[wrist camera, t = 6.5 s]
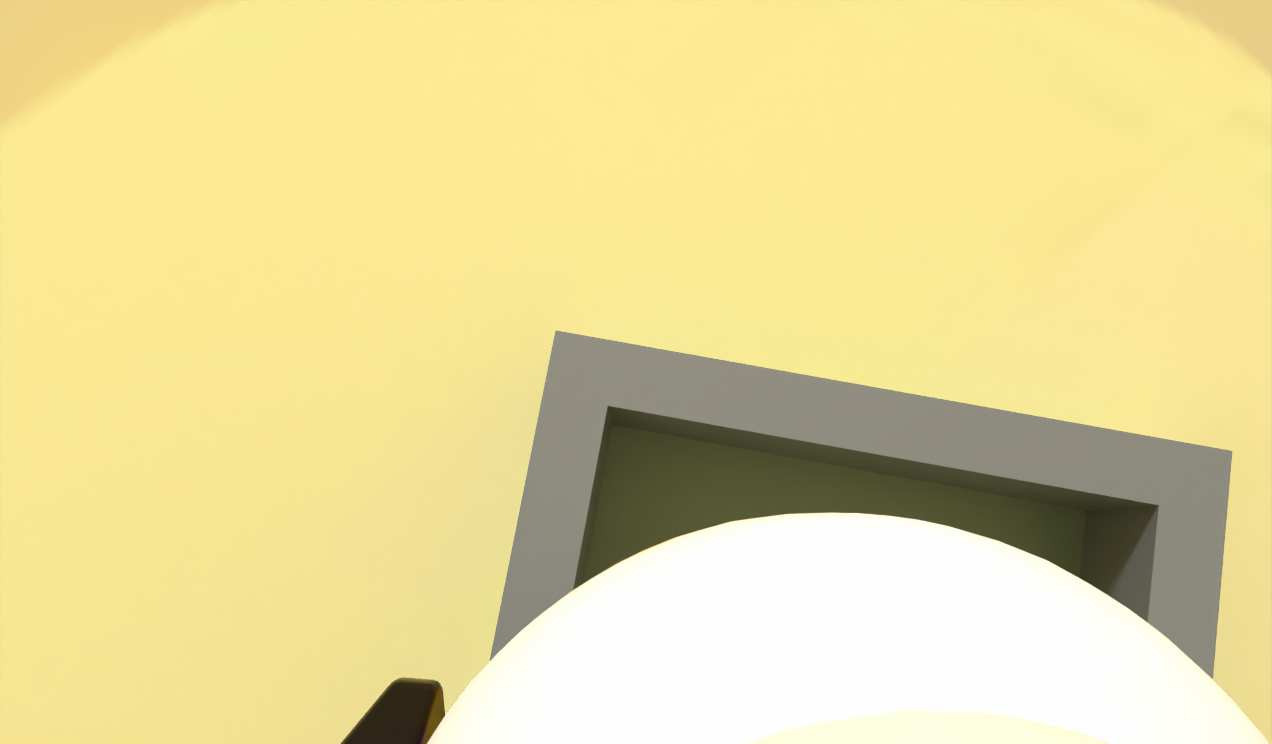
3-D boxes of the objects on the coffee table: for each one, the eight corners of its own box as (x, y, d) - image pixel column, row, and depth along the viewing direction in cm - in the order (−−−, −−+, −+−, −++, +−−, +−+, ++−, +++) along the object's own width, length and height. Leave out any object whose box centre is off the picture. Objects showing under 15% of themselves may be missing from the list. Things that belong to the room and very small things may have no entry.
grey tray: (1080, 1027, 20) (1173, 1130, 17) (463, 904, 21) (425, 980, 17) (1136, 466, 22) (1231, 450, 18) (569, 364, 22) (555, 330, 19)
